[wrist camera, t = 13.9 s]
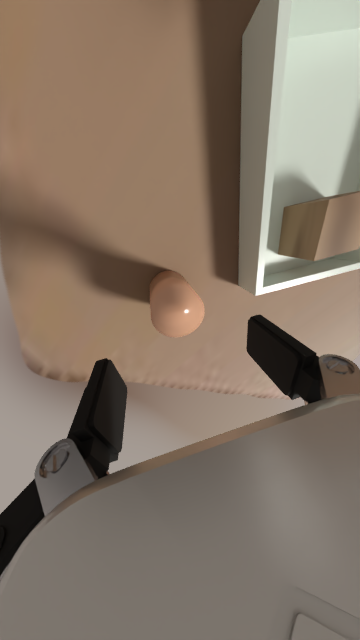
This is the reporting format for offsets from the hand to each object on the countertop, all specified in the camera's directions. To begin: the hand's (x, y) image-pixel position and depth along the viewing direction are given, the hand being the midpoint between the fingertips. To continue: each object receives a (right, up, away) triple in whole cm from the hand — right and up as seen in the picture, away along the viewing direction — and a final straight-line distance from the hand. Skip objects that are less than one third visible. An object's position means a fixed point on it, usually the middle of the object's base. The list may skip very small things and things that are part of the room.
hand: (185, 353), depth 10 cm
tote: (+13, +17, +7) cm, 23 cm away
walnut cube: (+14, +13, +8) cm, 21 cm away
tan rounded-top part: (-2, +6, +10) cm, 12 cm away
